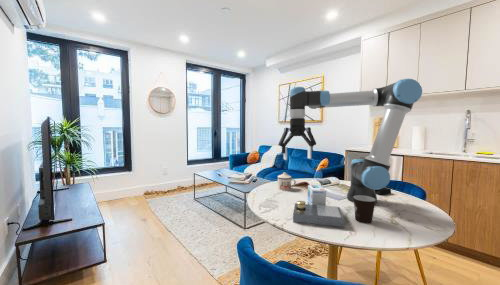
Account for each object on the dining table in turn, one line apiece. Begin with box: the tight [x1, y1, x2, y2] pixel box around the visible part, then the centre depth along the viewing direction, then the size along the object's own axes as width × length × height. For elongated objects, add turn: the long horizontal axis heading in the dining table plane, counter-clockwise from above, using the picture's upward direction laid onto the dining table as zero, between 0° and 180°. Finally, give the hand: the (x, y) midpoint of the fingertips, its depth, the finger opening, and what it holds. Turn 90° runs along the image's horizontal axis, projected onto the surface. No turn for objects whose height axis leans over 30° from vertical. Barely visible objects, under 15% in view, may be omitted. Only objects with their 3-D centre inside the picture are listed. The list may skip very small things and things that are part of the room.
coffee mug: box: [353, 195, 376, 225], centre depth 100 cm, size 12×9×10 cm
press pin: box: [296, 200, 306, 210], centre depth 102 cm, size 4×4×4 cm
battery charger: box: [375, 187, 392, 196], centre depth 144 cm, size 13×10×4 cm
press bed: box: [292, 202, 345, 229], centre depth 100 cm, size 20×14×4 cm
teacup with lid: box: [277, 172, 297, 191], centre depth 147 cm, size 12×9×12 cm
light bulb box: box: [307, 184, 327, 206], centre depth 114 cm, size 11×7×11 cm, turn 178°
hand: (297, 159), depth 118 cm, fingers open, 13 cm apart
